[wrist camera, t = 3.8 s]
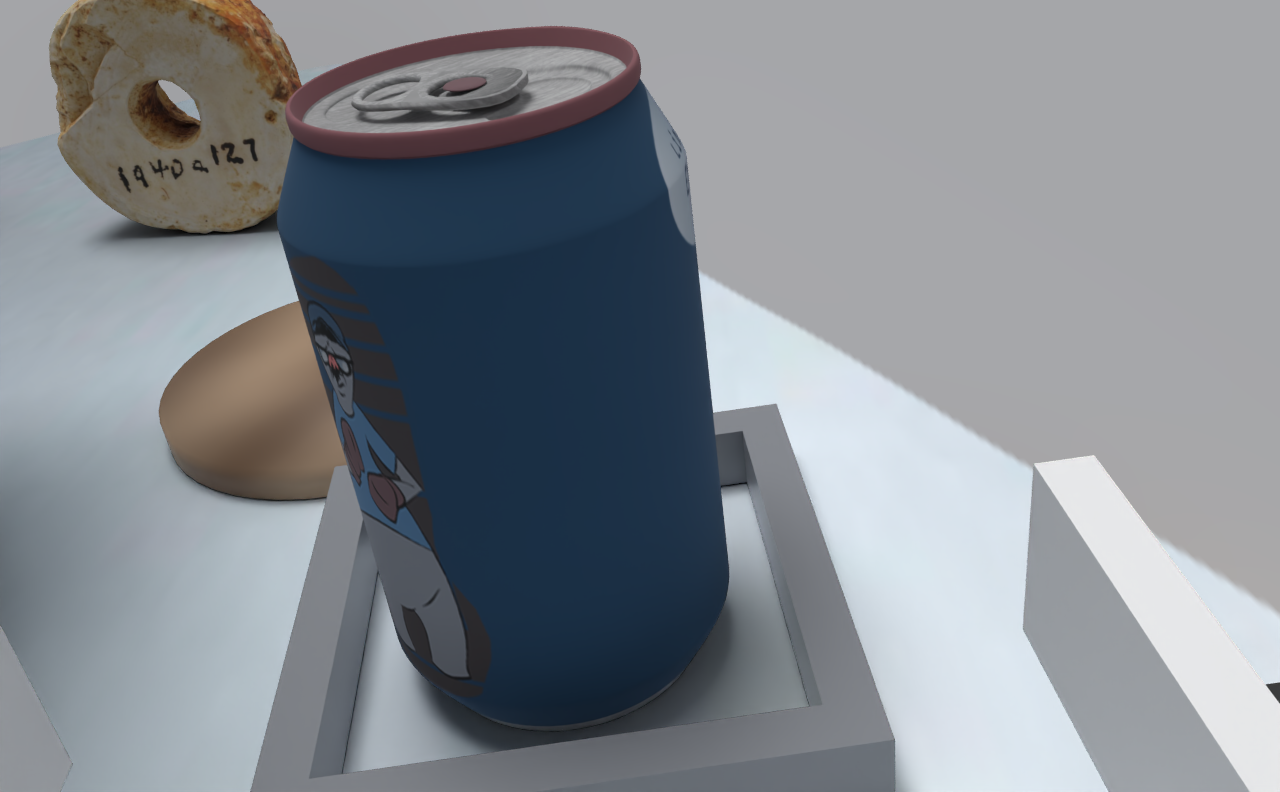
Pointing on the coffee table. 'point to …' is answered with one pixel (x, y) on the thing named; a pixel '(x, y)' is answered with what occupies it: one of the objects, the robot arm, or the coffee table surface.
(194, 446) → the coaster
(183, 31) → the stone disc
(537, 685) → the soda can
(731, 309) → the coffee table surface
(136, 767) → the coffee table surface
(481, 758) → the can holder
